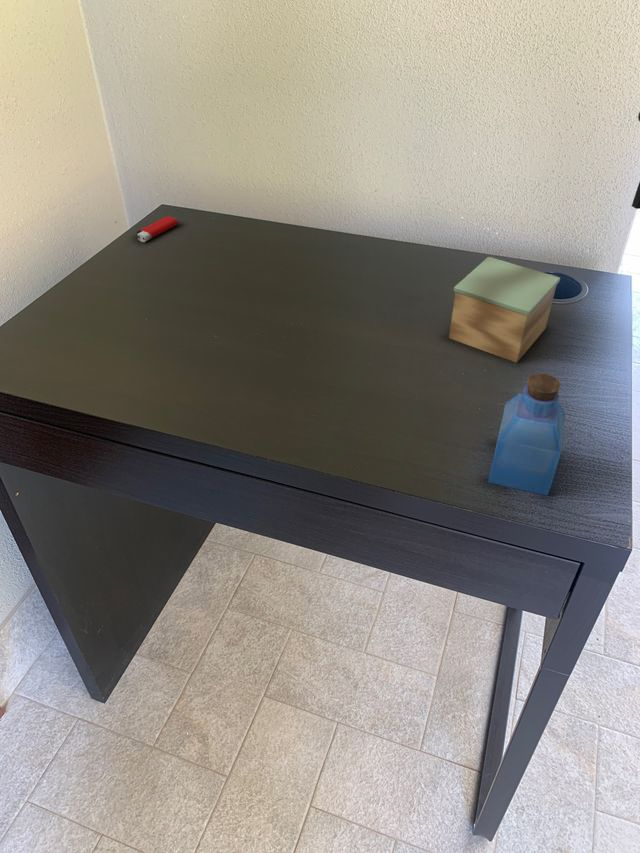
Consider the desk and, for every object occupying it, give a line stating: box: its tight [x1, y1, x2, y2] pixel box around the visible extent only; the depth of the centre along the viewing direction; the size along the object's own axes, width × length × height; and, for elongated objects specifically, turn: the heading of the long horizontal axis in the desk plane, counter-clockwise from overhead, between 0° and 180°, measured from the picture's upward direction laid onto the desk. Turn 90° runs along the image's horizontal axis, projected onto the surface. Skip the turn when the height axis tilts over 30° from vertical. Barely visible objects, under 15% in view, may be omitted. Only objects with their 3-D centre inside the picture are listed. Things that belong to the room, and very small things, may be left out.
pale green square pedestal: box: [448, 256, 561, 364], centre depth 92 cm, size 10×10×8 cm
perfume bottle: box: [488, 372, 566, 496], centre depth 71 cm, size 6×6×12 cm
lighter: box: [136, 215, 179, 243], centre depth 119 cm, size 3×1×8 cm
